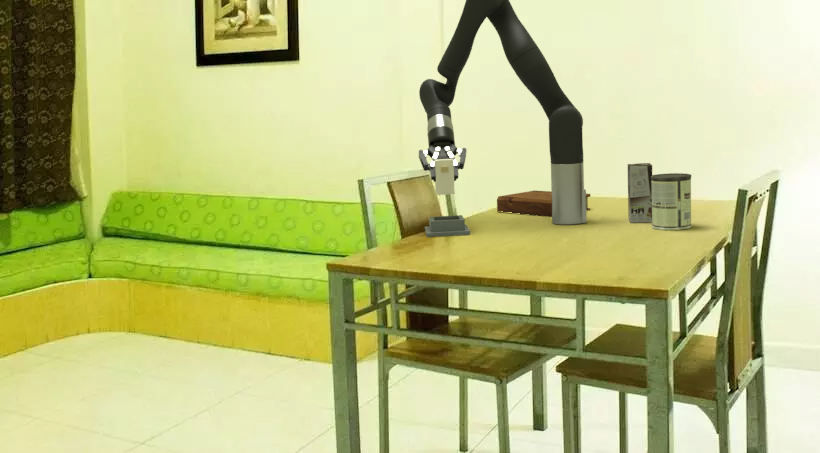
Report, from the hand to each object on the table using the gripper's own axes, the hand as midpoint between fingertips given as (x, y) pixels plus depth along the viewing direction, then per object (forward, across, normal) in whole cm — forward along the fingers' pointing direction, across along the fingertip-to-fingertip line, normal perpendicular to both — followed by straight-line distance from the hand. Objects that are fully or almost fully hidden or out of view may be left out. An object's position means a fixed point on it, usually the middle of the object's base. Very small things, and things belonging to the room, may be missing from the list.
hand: (444, 179), depth 236 cm
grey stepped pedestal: (+9, 0, +12) cm, 15 cm away
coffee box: (+7, +56, +14) cm, 58 cm away
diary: (-14, +33, +36) cm, 51 cm away
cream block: (+2, 0, +4) cm, 5 cm away
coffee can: (+18, +60, +3) cm, 62 cm away
